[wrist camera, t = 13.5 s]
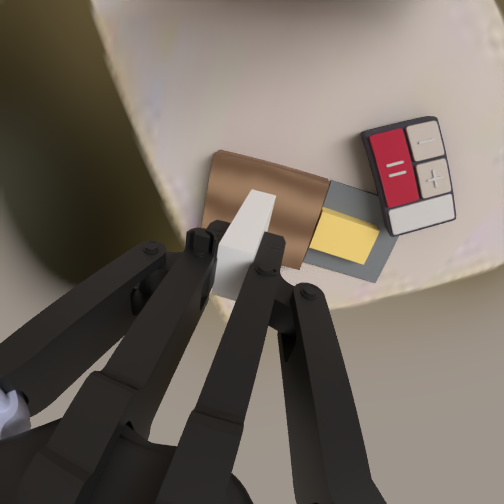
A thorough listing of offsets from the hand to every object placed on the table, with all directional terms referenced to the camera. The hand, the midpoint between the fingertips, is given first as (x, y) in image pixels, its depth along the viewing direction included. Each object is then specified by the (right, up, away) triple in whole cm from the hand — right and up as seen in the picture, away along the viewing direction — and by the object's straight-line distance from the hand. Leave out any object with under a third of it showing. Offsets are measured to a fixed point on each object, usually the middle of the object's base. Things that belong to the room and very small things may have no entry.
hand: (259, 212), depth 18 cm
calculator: (+22, +9, +20) cm, 31 cm away
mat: (+15, 0, +26) cm, 30 cm away
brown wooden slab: (+1, +4, +27) cm, 27 cm away
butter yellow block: (+13, 0, +26) cm, 29 cm away
